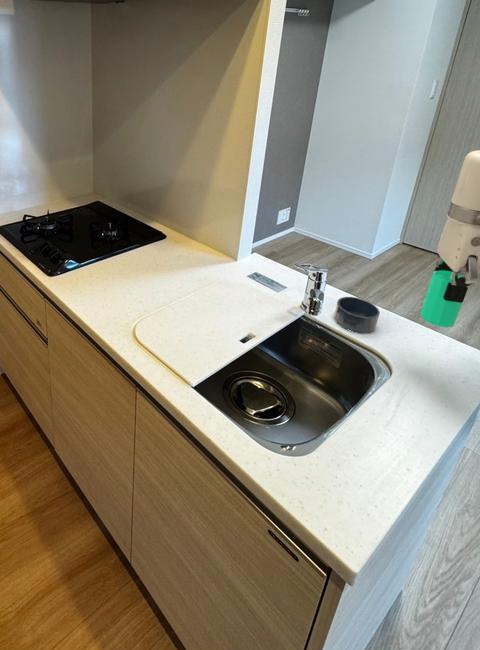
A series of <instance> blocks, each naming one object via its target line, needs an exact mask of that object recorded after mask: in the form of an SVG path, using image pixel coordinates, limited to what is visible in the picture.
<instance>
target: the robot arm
mask: <svg viewBox="0 0 480 650" xmlns="http://www.w3.org/2000/svg"><path fill="white" fill-rule="evenodd" d="M453 191H454V192H453V194H452V197H451V200H450V204H449V207H448V210H447V213H446V216H445V217H446V221H445V224H444V226H443V229H442V231H441V234H440V237H439V240H438V242H437V247H436V252H437V253H438V254H437V257H438V259H437V260H436V262H435V268H434V271H433V273H434V272H435V271H441V270H442V271H451V272H452V278H451V283H450V282H448V285H447V288H446V291H445V294H444V296H443V298H444V300H446V301H452V302H459V303H462V304H463V302H464V300H465V297H466V295H467V293H468V290H469V288H470V287H471V285H473V284H474V283H477V282H478V281H479V276H480V150H479V149H478V150H473V151H470V152H469V153H467V154H466V155H465V157H464V160H463V162H462V166H461V168H460V172H459V175H458V179H457V181H456V184H455V188H454V190H453ZM460 268H462V269H460ZM464 269H465V270H464ZM459 274H462V275H464V276H462V277H460V278H458V275H459Z"/></svg>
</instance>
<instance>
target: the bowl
mask: <svg viewBox="0 0 480 650" xmlns="http://www.w3.org/2000/svg"><path fill="white" fill-rule="evenodd" d="M379 317H380V310H379V308H378V307H377V306H376V305H375V304H373V303H371V302H370V301H368V300H365V299H363V298H359V297H354V296H343V297H340V298H338V299H337V303H336V306H335V310H334V315H333V319H334V318H335V319H334V321H335V320H336V321H337V322H338V323H337V322H336V321H335V322H336V323H337V325H339V324H340V325H341V326H342V327H341V326H340V325H339V326H340V327H341V328H343V327H345V328H346V329H345V328H344V329H345V330H347V329H349V330H351V331H350V332H352V331H353V332H352V333H355V332H357V333H356V334H361V333H362V335H364V334H363V333H368V334H371V333H374V332H375V330H376V327H377V324H378V321H379ZM349 330H348V331H349Z"/></svg>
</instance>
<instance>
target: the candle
mask: <svg viewBox="0 0 480 650" xmlns="http://www.w3.org/2000/svg"><path fill="white" fill-rule="evenodd" d="M434 271H435V270H434ZM434 271H433V273H432V275H431V278H430V282H429V285H428V288H427V291H426V294H425V296H424V301H423V304H422V307H421V309H420V313H419V315H420V317H421V319H423V320H424V321H426V322H427V323H428V324H431V325H434V326H436V327H441V328H452V327H454V325H455V323H456V321H457V319H458V316H459V313H460V310H461V307H462V304H463V302H462V303H459V302H452V301H446V300H444V298H443V296H444V294H445V291H446V288H447V285H448V282H450V283H451V278H452V272H451V271H442V270H441V271H435V272H434ZM460 277H463V276H462V275H460V274H458V278H460Z"/></svg>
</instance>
